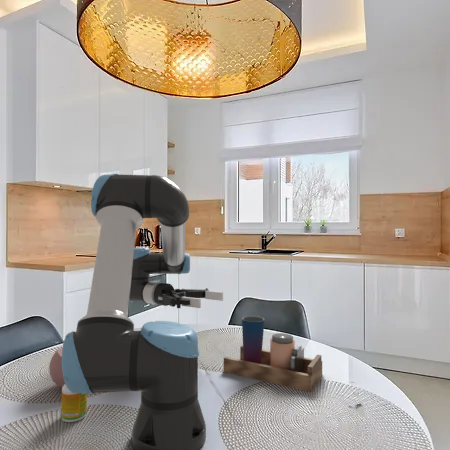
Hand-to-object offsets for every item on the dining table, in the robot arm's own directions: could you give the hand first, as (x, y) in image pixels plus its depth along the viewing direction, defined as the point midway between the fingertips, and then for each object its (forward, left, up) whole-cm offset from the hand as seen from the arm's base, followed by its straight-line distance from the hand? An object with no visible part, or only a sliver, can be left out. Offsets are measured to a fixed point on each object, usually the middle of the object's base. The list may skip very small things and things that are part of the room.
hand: (211, 299), depth 113 cm
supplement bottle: (-21, +38, -21) cm, 48 cm away
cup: (-9, -11, -20) cm, 24 cm away
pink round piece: (-5, +40, -21) cm, 45 cm away
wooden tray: (-13, -15, -21) cm, 29 cm away
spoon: (-34, -29, -21) cm, 49 cm away
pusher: (-19, -20, -19) cm, 34 cm away
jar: (-15, -17, -20) cm, 30 cm away
